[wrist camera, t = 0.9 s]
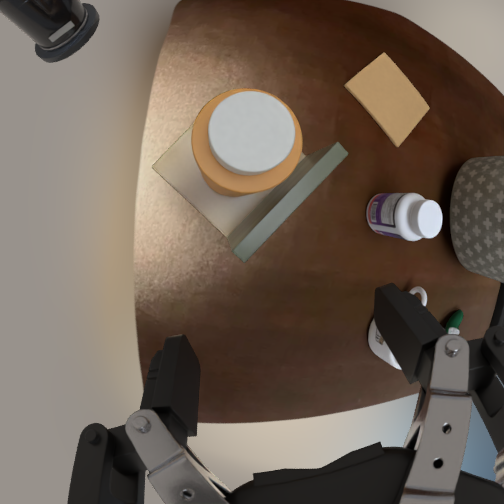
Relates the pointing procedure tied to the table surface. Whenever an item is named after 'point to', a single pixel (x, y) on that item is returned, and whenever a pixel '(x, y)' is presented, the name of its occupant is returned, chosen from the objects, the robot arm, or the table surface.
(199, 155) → the amber bottle
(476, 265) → the planter
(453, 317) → the gaming controller
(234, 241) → the miniature wooden chair
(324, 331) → the table surface
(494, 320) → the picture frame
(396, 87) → the coaster
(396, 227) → the pill bottle
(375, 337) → the mug
